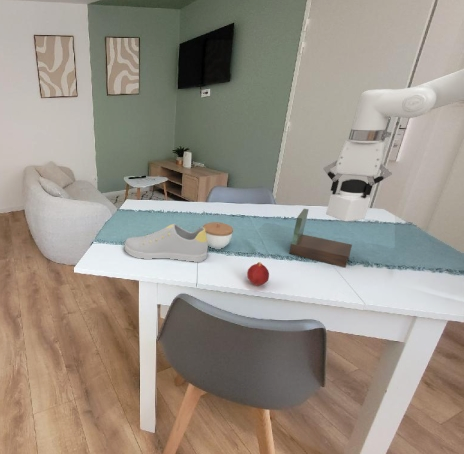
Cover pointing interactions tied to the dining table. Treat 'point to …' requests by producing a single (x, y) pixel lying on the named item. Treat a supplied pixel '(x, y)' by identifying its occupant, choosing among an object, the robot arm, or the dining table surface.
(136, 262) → the dining table surface
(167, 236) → the shoe
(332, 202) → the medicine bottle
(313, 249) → the brown hinged box
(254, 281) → the onion
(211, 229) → the trinket box
